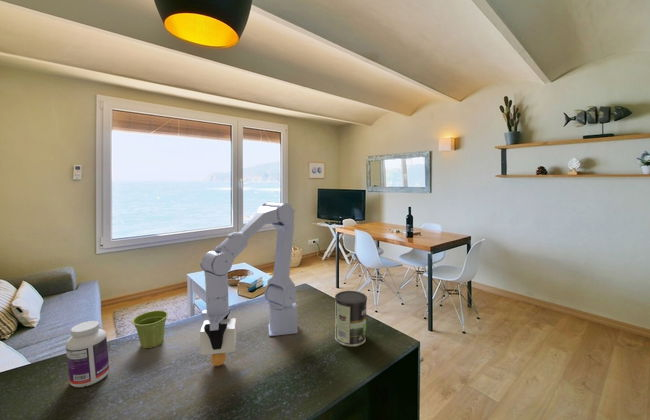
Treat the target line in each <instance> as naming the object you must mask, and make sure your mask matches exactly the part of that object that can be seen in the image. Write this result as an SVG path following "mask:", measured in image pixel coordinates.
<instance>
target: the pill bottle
mask: <svg viewBox="0 0 650 420" xmlns="http://www.w3.org/2000/svg"><path fill="white" fill-rule="evenodd" d="M70 335H71V336H70V337H69V338H68V339H67V340H66V342H65V351H66V352H65V353H66V359H67V360H66V361H67V369H68V380H69V384H70V385H71V386H72V387H75V388H85V386H86V387H88V386H89V387H90V386H91V385H94V384H96V383H98V382H100V381H101V380H102V379H104V378H105V377H106V376H107V375H108V374H109V371H110V362H109V361H110V360H109V350H108V340H107V338H108V337H107V332H106V331H105V330H104V329H102V328H100V322H99V321H97V320H89V321H84V322H80V323H78V324H75V325H74V326H72V328H71V329H70Z"/></svg>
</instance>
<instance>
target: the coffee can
mask: <svg viewBox="0 0 650 420" xmlns="http://www.w3.org/2000/svg"><path fill="white" fill-rule="evenodd" d="M334 300H335V302H334V303H335V304H334V305H335V310H334V312H335V314H334V315H335V316H334V317H335V319H334V321H335V323H334V324H335V325H334V329H335V331H334V339H335V341H336V342H337V343H338V344H340V345H343V346H346V347H359V346H362V345H363V344H364V343H365V342H366V341H367V340H366V339H367V336H366V335H367V301H368V296H367V295H366V294H365V293H363V292H360V291H354V290H343V291H339V292H338V293H336V294H335V295H334Z"/></svg>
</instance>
